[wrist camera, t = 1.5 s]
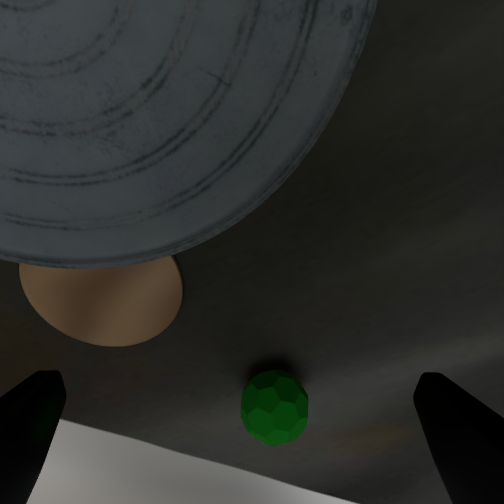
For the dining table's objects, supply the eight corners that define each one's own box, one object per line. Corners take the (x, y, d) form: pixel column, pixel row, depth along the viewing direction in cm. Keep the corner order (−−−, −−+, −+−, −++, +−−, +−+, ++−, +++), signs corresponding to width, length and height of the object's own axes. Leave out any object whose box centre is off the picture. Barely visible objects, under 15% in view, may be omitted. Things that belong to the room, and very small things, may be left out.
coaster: (206, 250, 20) (205, 252, 20) (155, 358, 24) (154, 363, 24) (38, 182, 18) (34, 184, 18) (11, 315, 22) (7, 319, 22)
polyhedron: (240, 356, 24) (241, 413, 20) (304, 355, 25) (319, 410, 20) (240, 401, 27) (241, 461, 23) (299, 400, 27) (311, 458, 23)
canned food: (75, 163, 18) (-174, 282, 7) (-5, -134, 12) (-1441, -1456, 2) (282, 156, 18) (351, 258, 7) (287, -137, 13) (547, -1258, 2)
